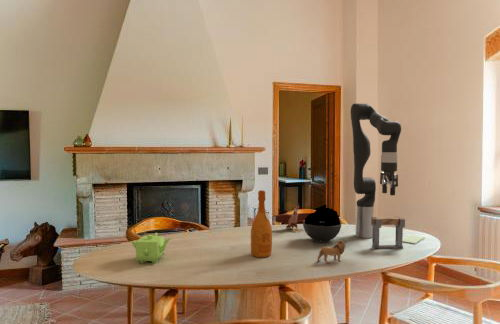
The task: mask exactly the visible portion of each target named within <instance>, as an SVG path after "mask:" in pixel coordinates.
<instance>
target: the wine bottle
mask: <svg viewBox="0 0 500 324" xmlns="http://www.w3.org/2000/svg"><path fill="white" fill-rule="evenodd" d="M257 194H258V195H257V200H258V207H257V211H256V214H255V217H254V219H253V221H252V225H251V227H250V228H251V229H250V254H251V255H252V256H253V257H255V258H268V257H270V256H271V255H272V253H273V252H272V251H273V249H272V248H273V230H272V229H273V228H272V225H271V222H270V219H271V218H270V215H269V212H267V210H266V206H265V205H266V204H265V201H266V190H262V189H261V190H258V193H257Z"/></svg>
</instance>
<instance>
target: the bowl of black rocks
mask: <svg viewBox="0 0 500 324" xmlns="http://www.w3.org/2000/svg"><path fill="white" fill-rule="evenodd" d="M327 206H328V205H327V204H322V205H321V206H318V207H315V211H314V212H310V213H311V214H309V215H308V216H307V217H306V219H305V220H304V221H302V227H303V230H304V231H305V233H306V235H307V236H308V237H309V238H310V239H312V240H313V241H315V242H319V243H326V242H330V241H331V240H334V239H335V238H336V237H337V236H338V234H339V233H340V231H341V228H342V223H341V220H340V215H339V214H338V211H336V210H334V209H333V208H332V207H331V208H330V207H327Z"/></svg>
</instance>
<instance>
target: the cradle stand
mask: <svg viewBox="0 0 500 324" xmlns="http://www.w3.org/2000/svg"><path fill="white" fill-rule="evenodd" d="M372 218H378V217H377V216H374V217H371V225H372V226H373V237H372V238H371V239H372V241H371V242H372V245H371V249H373V250H387V249H388V250H389V249H390V250H392V249H395V250H396V249H398V250H399V249H404V246H403V242H402V239H403V238H404V237H403V235H404V234H403V230H404V229H403V228H405V227H406V219H405V218H403V219H399V225H395V244H380V229H381V228H382V225H381V219H376V225H373V224H372ZM393 218H401V217H400V216H393Z"/></svg>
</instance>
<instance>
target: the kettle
mask: <svg viewBox="0 0 500 324" xmlns="http://www.w3.org/2000/svg"><path fill="white" fill-rule="evenodd" d="M172 239H173V238H170V237H169V238H166V239H165V236H164V235H158V232H155V233H154V234H147V235H143V236H142V237H140V238H139V239H138V240H137V241H136V240H132V241H130V243H131V245H132V246H133V247H134V249H135V261H136V262H139V264H145V263H146V262H151V263H152V264H157V263H158V261H159V260H161V259H162V257H163V256H164V254H165V250H166V248H167V244H168V242H170V240H172Z"/></svg>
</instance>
